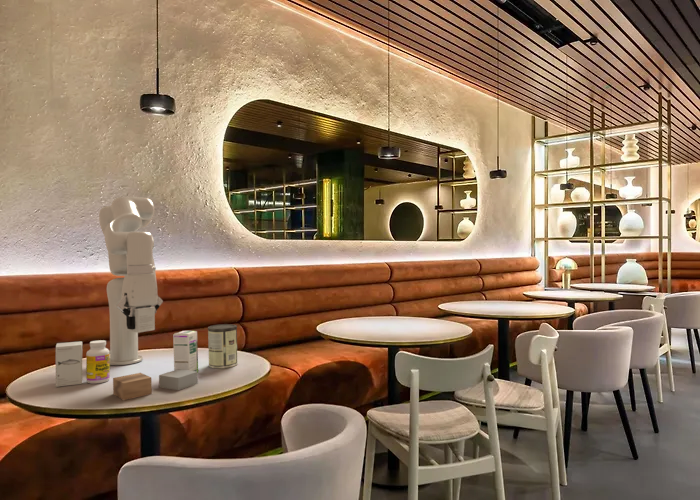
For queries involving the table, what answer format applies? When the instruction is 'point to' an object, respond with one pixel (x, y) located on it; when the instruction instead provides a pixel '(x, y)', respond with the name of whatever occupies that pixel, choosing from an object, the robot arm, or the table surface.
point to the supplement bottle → (97, 363)
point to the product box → (144, 319)
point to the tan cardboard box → (132, 386)
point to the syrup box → (185, 350)
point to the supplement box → (68, 363)
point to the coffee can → (222, 345)
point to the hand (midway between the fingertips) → (141, 326)
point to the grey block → (178, 379)
